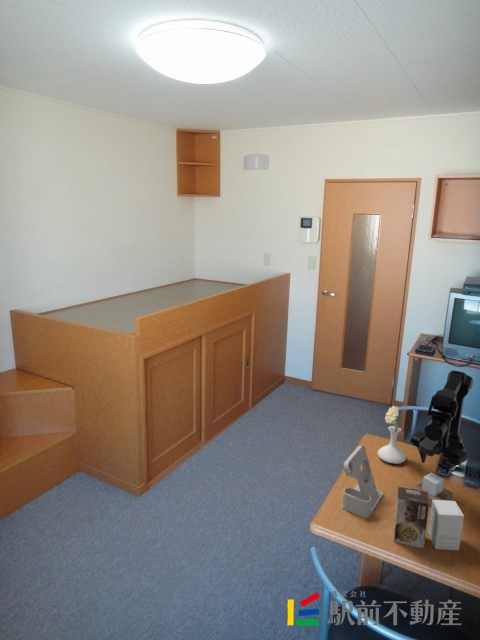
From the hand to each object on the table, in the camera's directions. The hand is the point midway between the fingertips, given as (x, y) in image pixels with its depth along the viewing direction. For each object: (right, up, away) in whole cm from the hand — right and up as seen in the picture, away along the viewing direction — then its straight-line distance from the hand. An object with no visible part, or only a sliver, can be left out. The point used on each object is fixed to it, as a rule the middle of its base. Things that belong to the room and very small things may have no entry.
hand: (434, 468), depth 160 cm
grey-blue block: (0, -9, +2) cm, 9 cm away
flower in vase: (-6, -5, +27) cm, 28 cm away
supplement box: (-5, -17, -18) cm, 26 cm away
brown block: (0, -11, +3) cm, 12 cm away
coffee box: (-16, -17, -17) cm, 29 cm away
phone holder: (-26, -12, +1) cm, 28 cm away
